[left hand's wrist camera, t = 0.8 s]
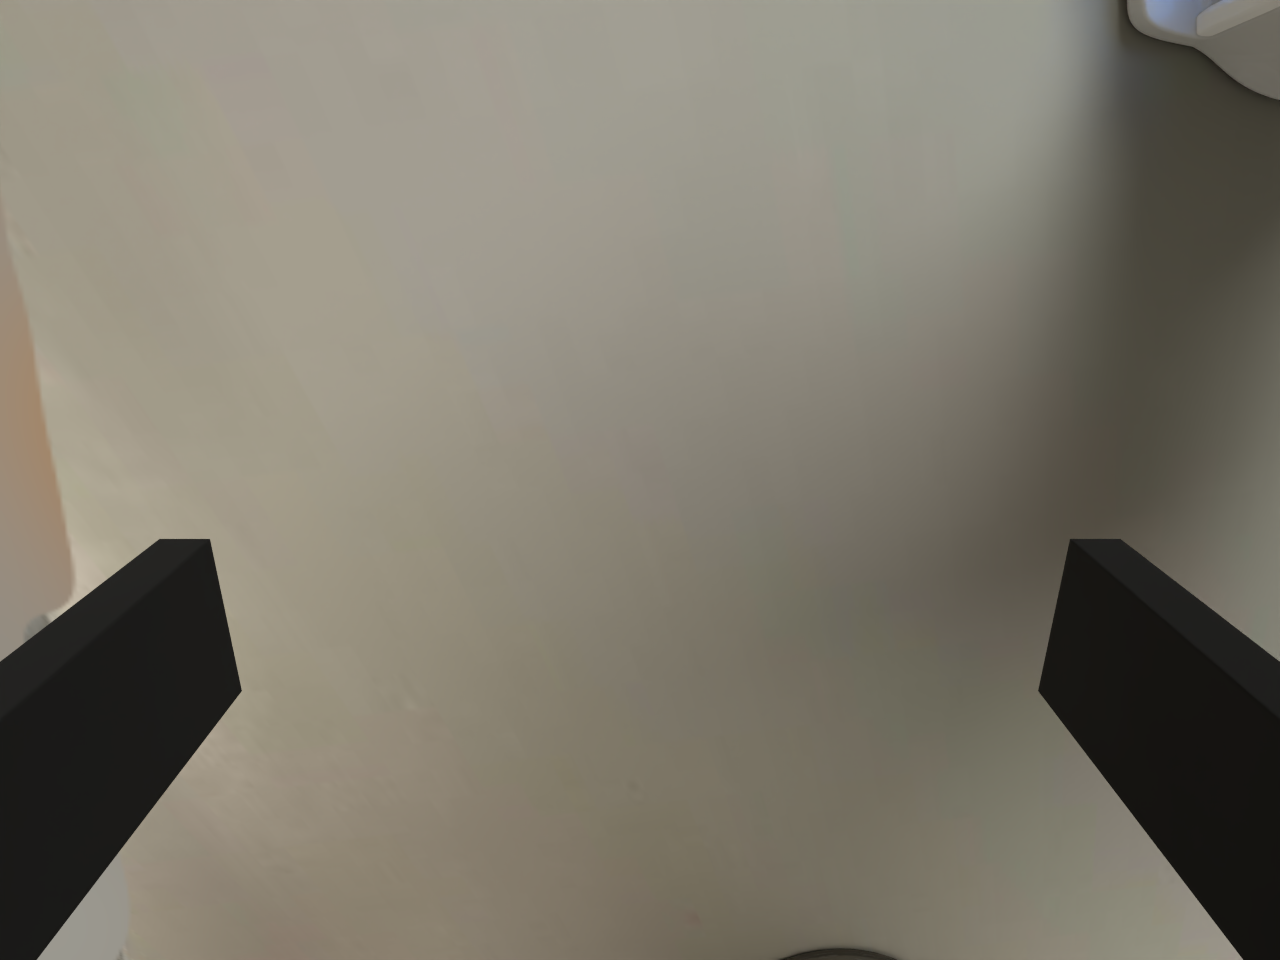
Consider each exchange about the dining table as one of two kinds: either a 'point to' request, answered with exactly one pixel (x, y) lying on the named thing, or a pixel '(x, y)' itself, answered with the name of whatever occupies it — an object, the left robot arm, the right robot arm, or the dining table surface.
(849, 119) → the dining table surface
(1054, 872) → the dining table surface
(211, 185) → the dining table surface
